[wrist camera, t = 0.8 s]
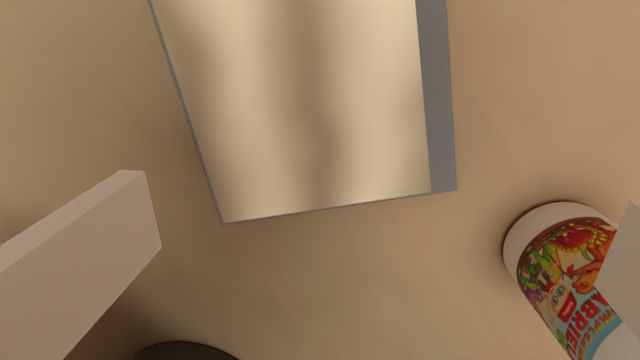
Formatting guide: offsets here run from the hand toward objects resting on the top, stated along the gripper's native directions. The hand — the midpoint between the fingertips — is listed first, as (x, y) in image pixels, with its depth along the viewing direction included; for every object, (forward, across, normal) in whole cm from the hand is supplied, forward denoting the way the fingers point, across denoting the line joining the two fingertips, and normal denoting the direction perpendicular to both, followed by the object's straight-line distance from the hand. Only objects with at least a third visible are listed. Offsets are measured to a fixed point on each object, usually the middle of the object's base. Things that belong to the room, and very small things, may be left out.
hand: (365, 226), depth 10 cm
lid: (+11, +4, -1) cm, 12 cm away
